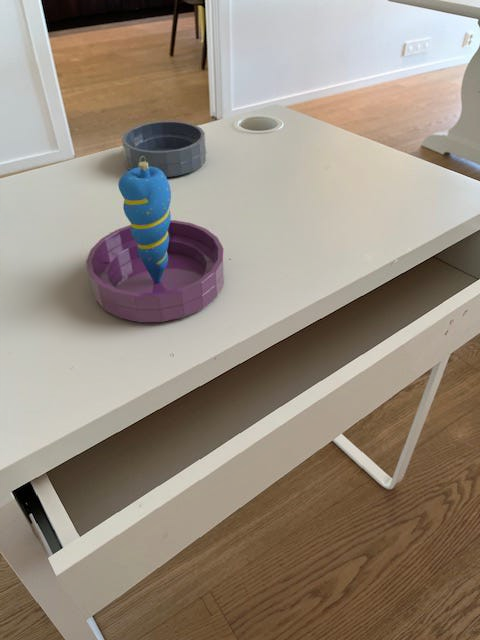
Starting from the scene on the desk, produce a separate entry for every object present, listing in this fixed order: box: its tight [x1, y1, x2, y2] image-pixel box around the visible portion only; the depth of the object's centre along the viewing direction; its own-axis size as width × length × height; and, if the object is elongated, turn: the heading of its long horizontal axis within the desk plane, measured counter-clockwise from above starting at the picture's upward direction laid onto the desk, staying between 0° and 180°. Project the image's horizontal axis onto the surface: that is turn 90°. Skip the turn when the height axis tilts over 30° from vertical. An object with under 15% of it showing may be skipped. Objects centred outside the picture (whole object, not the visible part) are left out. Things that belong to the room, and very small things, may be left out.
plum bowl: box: [85, 219, 225, 323], centre depth 59 cm, size 15×15×4 cm
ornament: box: [118, 156, 172, 283], centre depth 55 cm, size 5×5×15 cm
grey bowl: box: [121, 120, 207, 178], centre depth 84 cm, size 13×13×4 cm
